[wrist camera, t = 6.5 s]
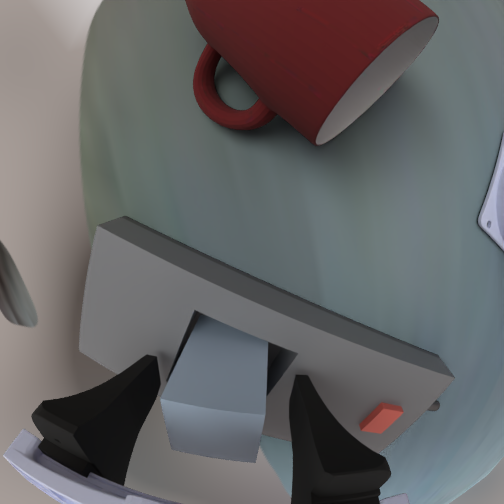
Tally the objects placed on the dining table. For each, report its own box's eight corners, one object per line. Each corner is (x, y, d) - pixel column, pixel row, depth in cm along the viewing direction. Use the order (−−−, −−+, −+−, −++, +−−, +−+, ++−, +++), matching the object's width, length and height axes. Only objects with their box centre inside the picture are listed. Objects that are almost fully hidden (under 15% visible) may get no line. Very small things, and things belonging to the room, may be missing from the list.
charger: (268, 322, 15) (265, 415, 9) (261, 376, 17) (254, 464, 10) (200, 314, 16) (160, 398, 9) (201, 368, 17) (172, 451, 10)
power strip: (466, 366, 16) (485, 390, 13) (405, 433, 19) (415, 459, 15) (125, 215, 15) (90, 227, 11) (99, 328, 17) (74, 355, 14)
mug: (214, 68, 16) (321, 159, 16) (113, 82, 10) (244, 212, 10) (289, -47, 8) (436, 39, 8) (193, -96, 2) (445, -16, 2)
